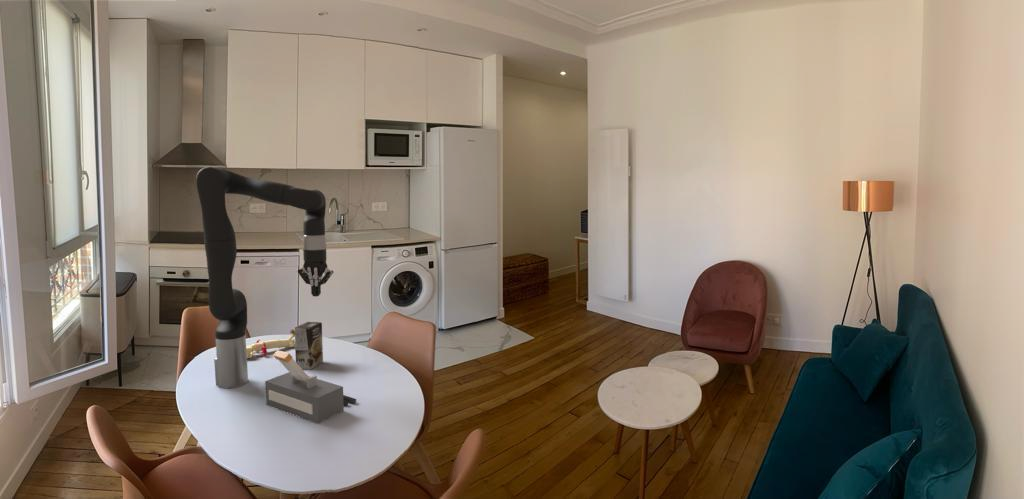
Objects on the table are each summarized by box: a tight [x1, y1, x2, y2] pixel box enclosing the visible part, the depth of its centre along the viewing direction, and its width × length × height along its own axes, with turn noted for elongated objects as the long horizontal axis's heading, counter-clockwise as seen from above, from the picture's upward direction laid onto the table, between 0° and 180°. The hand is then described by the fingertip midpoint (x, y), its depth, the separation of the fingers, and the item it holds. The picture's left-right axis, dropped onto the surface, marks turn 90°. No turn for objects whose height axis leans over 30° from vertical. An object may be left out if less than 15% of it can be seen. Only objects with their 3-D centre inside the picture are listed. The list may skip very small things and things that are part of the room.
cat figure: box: [246, 329, 295, 359], centre depth 214 cm, size 10×9×25 cm
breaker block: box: [264, 371, 357, 424], centre depth 167 cm, size 17×24×11 cm
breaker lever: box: [272, 349, 309, 383], centre depth 160 cm, size 2×6×14 cm
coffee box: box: [294, 321, 324, 370], centre depth 201 cm, size 9×6×16 cm
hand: (316, 295), depth 184 cm, fingers closed
